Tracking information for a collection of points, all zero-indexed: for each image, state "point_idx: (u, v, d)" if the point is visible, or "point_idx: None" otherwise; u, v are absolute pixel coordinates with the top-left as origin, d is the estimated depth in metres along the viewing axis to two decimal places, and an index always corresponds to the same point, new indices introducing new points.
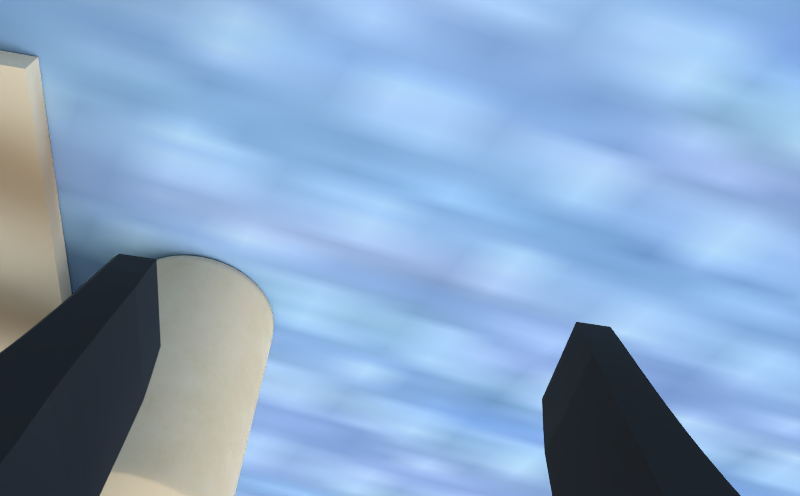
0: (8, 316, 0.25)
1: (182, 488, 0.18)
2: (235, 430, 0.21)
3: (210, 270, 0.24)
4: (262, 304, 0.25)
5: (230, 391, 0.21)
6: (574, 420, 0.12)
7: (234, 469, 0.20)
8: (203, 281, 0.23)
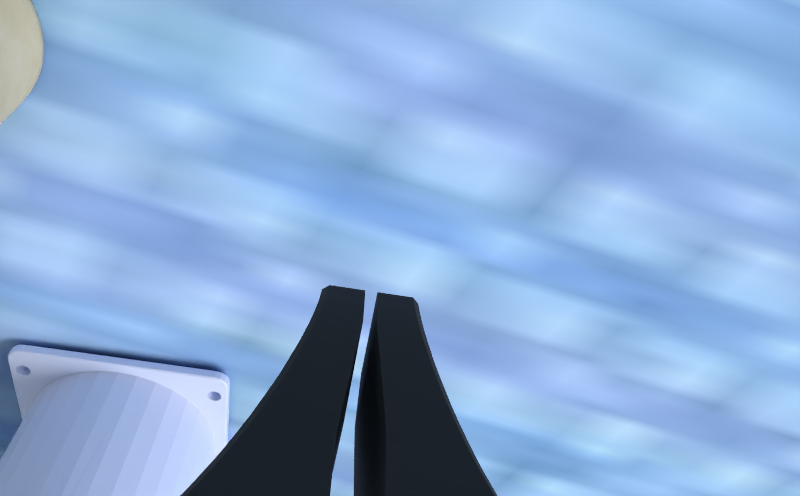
0: None
1: None
2: None
3: None
4: None
5: None
6: (366, 391, 0.11)
7: None
8: None
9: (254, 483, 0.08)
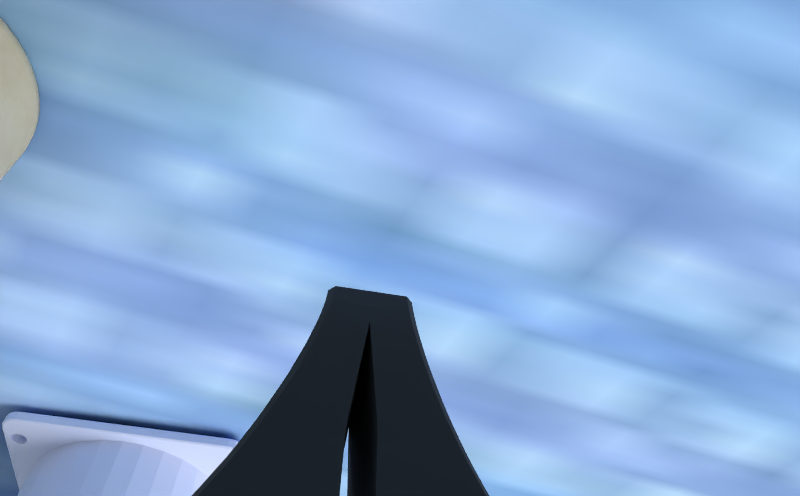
0: None
1: None
2: None
3: None
4: (1, 38, 0.16)
5: None
6: (359, 391, 0.11)
7: None
8: None
9: (264, 484, 0.08)
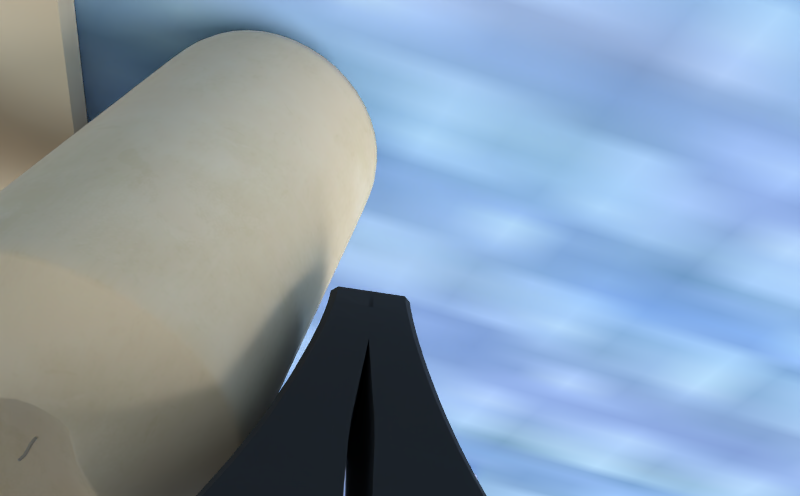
0: None
1: (171, 319, 0.09)
2: (292, 269, 0.12)
3: (287, 49, 0.15)
4: (363, 120, 0.16)
5: (293, 207, 0.12)
6: (357, 390, 0.11)
7: (282, 333, 0.11)
8: (274, 56, 0.14)
9: (267, 484, 0.08)
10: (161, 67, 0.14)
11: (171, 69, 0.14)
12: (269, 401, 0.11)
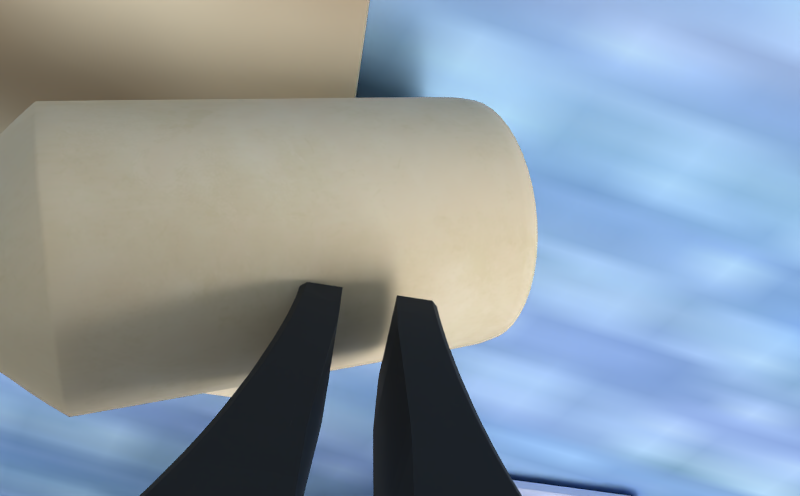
0: None
1: (51, 211, 0.10)
2: (243, 276, 0.11)
3: (482, 127, 0.14)
4: (515, 231, 0.13)
5: (298, 231, 0.12)
6: (386, 394, 0.11)
7: (184, 316, 0.11)
8: (455, 124, 0.14)
9: (219, 477, 0.08)
10: None
11: None
12: (135, 361, 0.11)
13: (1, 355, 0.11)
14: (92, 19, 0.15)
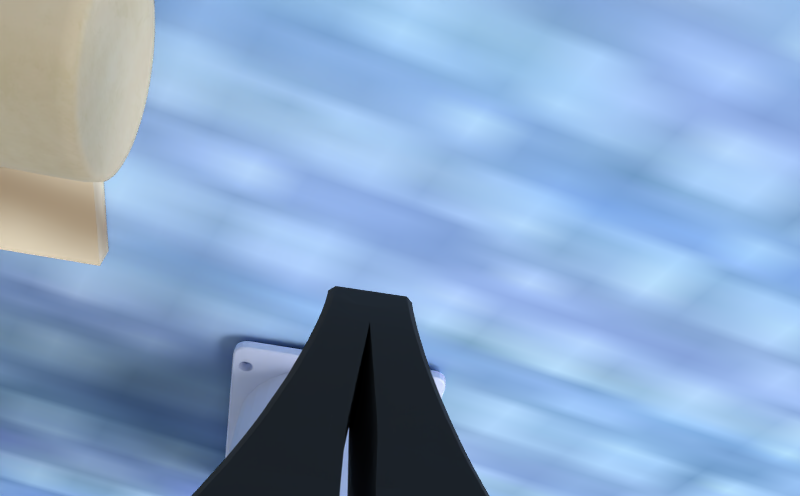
0: None
1: None
2: None
3: None
4: (44, 57, 0.14)
5: None
6: (359, 390, 0.11)
7: None
8: None
9: (263, 483, 0.08)
10: None
11: None
12: None
13: None
14: None
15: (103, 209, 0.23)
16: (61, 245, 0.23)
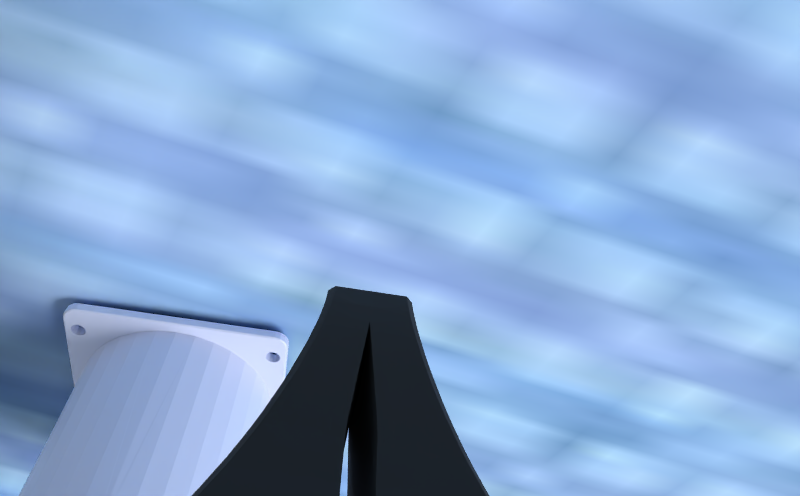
0: None
1: None
2: None
3: None
4: None
5: None
6: (359, 391, 0.11)
7: None
8: None
9: (264, 484, 0.08)
10: None
11: None
12: None
13: None
14: None
15: None
16: None
